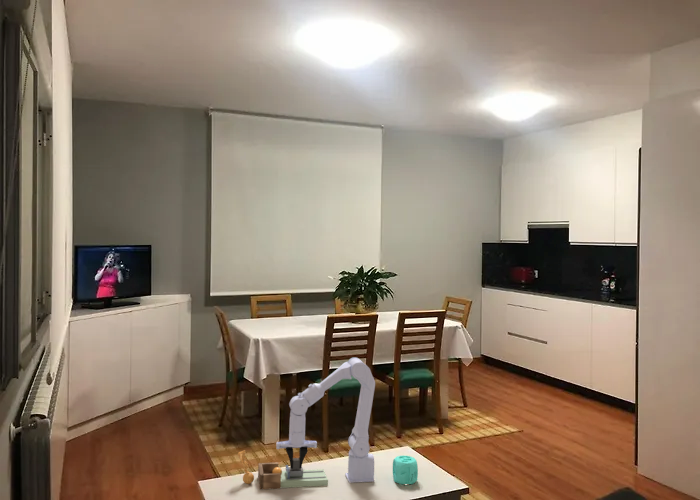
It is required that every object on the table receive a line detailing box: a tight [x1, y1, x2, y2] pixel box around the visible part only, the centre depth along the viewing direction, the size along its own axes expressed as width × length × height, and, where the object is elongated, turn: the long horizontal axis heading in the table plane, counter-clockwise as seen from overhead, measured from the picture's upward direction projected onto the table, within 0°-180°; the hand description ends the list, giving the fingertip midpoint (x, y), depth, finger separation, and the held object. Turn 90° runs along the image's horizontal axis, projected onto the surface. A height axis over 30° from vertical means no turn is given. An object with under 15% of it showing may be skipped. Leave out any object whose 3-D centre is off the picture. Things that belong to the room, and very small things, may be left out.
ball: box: [272, 466, 283, 474], centre depth 211 cm, size 4×4×4 cm
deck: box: [280, 468, 329, 489], centre depth 213 cm, size 17×10×2 cm, turn 102°
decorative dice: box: [392, 455, 419, 485], centre depth 217 cm, size 8×8×8 cm
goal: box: [257, 461, 281, 491], centre depth 211 cm, size 7×11×5 cm, turn 12°
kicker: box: [285, 457, 304, 479], centre depth 213 cm, size 6×7×6 cm
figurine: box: [237, 449, 255, 485], centre depth 209 cm, size 8×6×12 cm
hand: (295, 467), depth 213 cm, fingers closed on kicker, 2 cm apart
